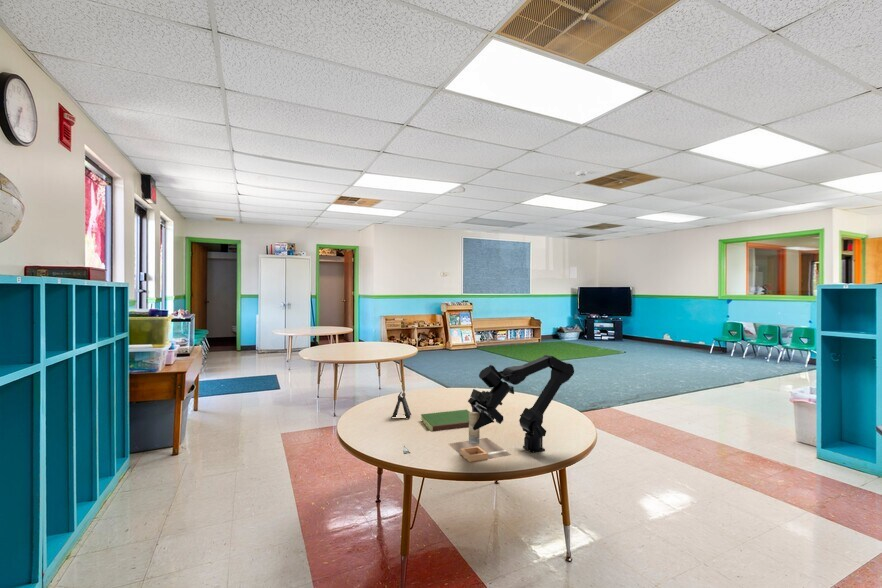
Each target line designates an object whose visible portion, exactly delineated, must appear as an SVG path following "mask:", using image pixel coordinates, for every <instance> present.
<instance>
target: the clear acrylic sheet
mask: <svg viewBox="0 0 882 588" xmlns="http://www.w3.org/2000/svg"><path fill="white" fill-rule="evenodd" d="M448 445H449V446H450V447H451V448H452V450H454V451H455V452H456V453H458V454H459V455H460V456H461V457H463V456H462V455H461V454H460V449H463V448H469V447H475V446H479V447H480V448H481V449H483V450H484V451H485V452H487V453H488V459H484V460H483V461H485V460H489V459H490V460H491V459H496V458H501V457H507V456H511V455H512V454H511V453H510V452H508V451H507V450H506V449H504V448H503V447H501V446H500V445H498V444H497V443H495V442H494V441H492V440H491V439H490V438H488V437H484V438H479V444H477V445H472V444H469V440H463V441H458V442H457V441H456V442H452V443H451V442H450V443H448ZM474 454H478V453H471V454H470V455H474ZM463 458H464V460H466V462H468V463H470V462H469V461H468V460H467V459H466V458H465V457H463ZM479 461H481V460H478V461H477V462H479ZM473 462H476V461H472V462H471V463H473Z"/></svg>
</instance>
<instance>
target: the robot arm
mask: <svg viewBox="0 0 882 588" xmlns="http://www.w3.org/2000/svg"><path fill="white" fill-rule="evenodd" d="M546 368H549V369H551V370H550V378H549V380H548V382H547V383H546V385H545V386H544V388H543V389H542V390H541V393H540V394H539V396H538V397H537V399H536V400H535V402H534V404H533V405H532V406H531V407H530V408H527V407H525V408H524V409H523V411H522V413H521V414H520V415H519V419H518V421H519V425H520V427H521V428H522V431H523V432H524V439H523V440H524V441H523V443H524V444H523V445H522V448H523V449H525V450H527V451H529V452H530V453H537V452H544V451H545V450H546V448H545V447H543V441H544V440H543V437H545V436H546V433H547V430H546V428H544V426H542V424H543V423H544V422H543V421H544V414H545V412H546V410H547V409H548V407H549V406H550V404H551V402H552V401H553V399H554V398H555V395H556V394H557V393H558V391H559V389H560V387H562V385H563V384H565V383H566V382H568V381H569V380H570V379H571V378H572V377H573V376H574V374H575V368H574V366H573V364H571V363H568V362H565V361H563V360H560V359H558V358H556V357H555V356H553V355H549V354H545V355H543V356H541V357H538V358H537V359H533V360H531V361H529V362H526V363H524V364H522V365H513V366H508V367H505V368H504V369H503V370H500V371H498V370H497V368H496V367H495V366H494V365H493V364H489V366H486V367H485V368H483V369H481V371H480V372H479V374H478V377H479V379H480V380H481V381H482V382H483V383H484V384H485V385H486V386H487V387H488V388H491V389H490V390H489V391H488V390H486V391H485V390H482V391H480V390H477V389H475V388H473V389H472V392H471V394H470V398H468V400H467V403H469V404H470V407H471V412H478V413H480V417H479V419H478V420H477V422H476V423H475V425H474V427H473V429H474V430H477V429H479V428H483V427H485V426H487V425H489V424H491V423H497V424H498V425H502V423H503V422H504V416H503V415H502V413H501V412H499V410H498V409H497V408H498V406H502V405H503V402H502V401H503V400H504V399H505V397H506V396H508V394H509V393H510V394H512V395H515V391H514V390H515V387H514V386H516V385H519V384H521V383H522V382H524V381H525V380H526V378H527V377H528V376H530V375H533V374H535V373H538V372H539V371H541V370H544V369H546ZM508 383H509V384H511V385H509V384H508ZM512 385H514V386H512ZM467 425H468V426H469V422H468V424H467Z"/></svg>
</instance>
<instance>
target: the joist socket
mask: <svg viewBox="0 0 882 588" xmlns="http://www.w3.org/2000/svg"><path fill="white" fill-rule="evenodd" d="M471 453H478V454H474V455H470V454H471ZM460 454H461V455H462V456H463V458H464V457H465V458H466V459H467V460H468V461H469V462H468V461H467V460H466V459H465V458H464V459H465V460H466V461H467V462H468V463H473V462H472V461H475V462H479V461H478V460H480V461H485V460H484V459H486V460H489V459H488V453H487V452H485V451H484V450H483V449H481V448H480V447H479V446H475V447H469V448H463V449H460ZM460 454H459V455H460ZM461 455H460V456H461ZM462 456H461V457H462Z"/></svg>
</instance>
